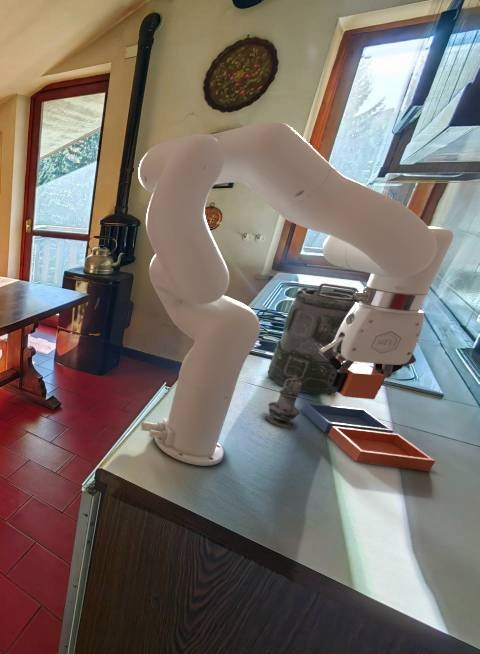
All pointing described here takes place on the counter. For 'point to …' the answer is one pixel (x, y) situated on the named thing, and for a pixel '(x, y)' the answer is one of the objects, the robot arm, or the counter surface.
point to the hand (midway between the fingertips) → (351, 389)
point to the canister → (310, 337)
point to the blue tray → (343, 418)
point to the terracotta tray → (380, 448)
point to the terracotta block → (362, 382)
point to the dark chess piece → (285, 404)
